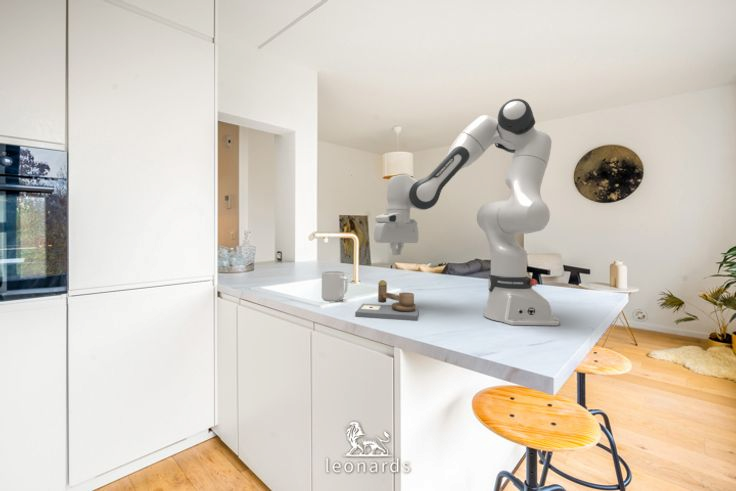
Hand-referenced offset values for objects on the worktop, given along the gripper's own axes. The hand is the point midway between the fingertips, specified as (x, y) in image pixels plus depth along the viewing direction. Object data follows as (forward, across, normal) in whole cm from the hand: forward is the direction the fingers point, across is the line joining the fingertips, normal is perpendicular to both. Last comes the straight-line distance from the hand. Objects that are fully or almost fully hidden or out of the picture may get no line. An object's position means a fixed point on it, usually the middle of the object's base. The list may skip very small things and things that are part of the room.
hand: (396, 255), depth 130 cm
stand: (+19, +11, +8) cm, 23 cm away
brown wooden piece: (+17, +7, +7) cm, 20 cm away
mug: (+20, +13, -20) cm, 31 cm away
